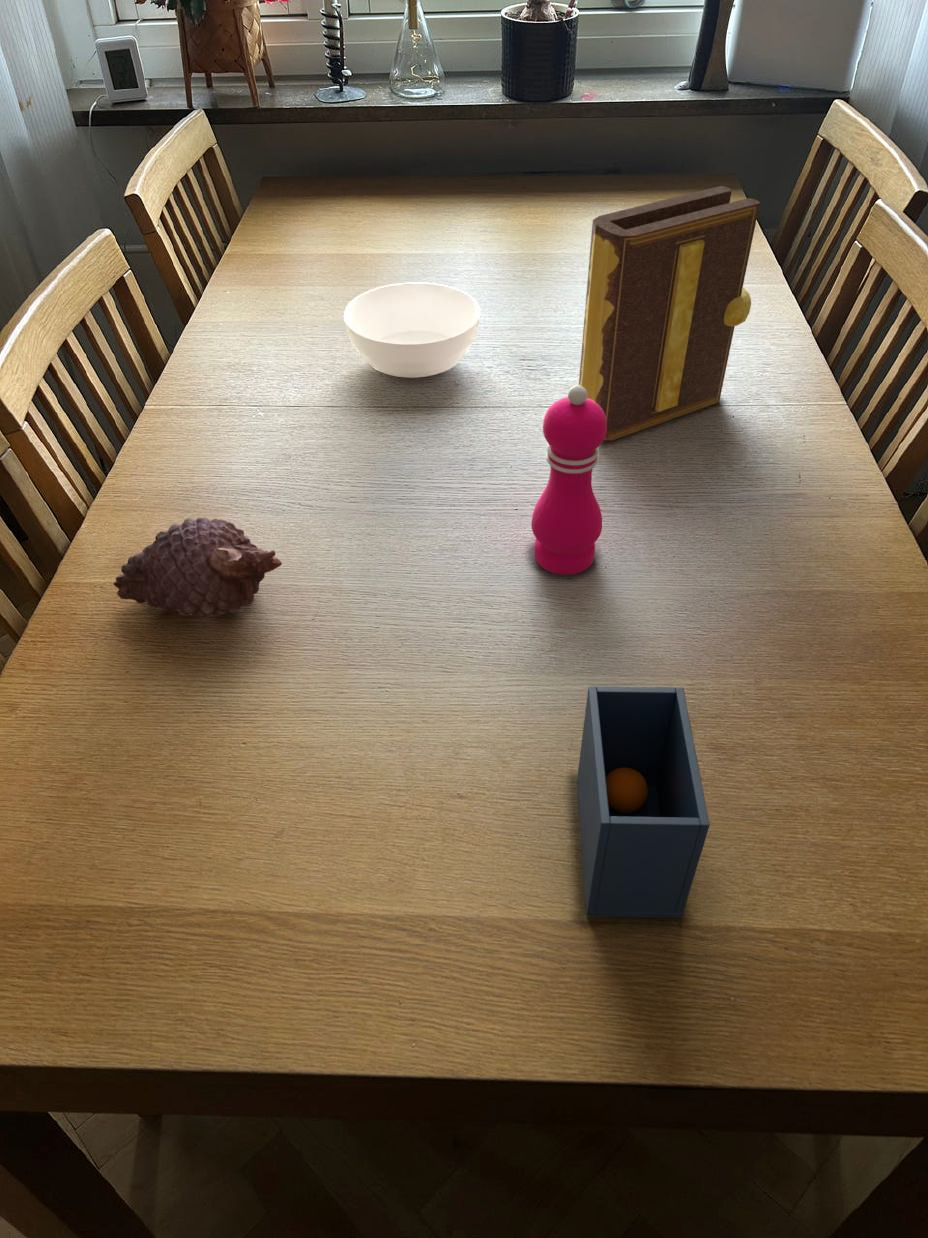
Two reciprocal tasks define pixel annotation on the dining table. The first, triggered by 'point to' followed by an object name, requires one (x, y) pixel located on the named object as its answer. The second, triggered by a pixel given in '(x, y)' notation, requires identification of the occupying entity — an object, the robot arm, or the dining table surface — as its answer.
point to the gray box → (667, 822)
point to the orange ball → (626, 790)
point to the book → (664, 306)
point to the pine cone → (197, 569)
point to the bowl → (412, 327)
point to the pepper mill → (570, 485)
